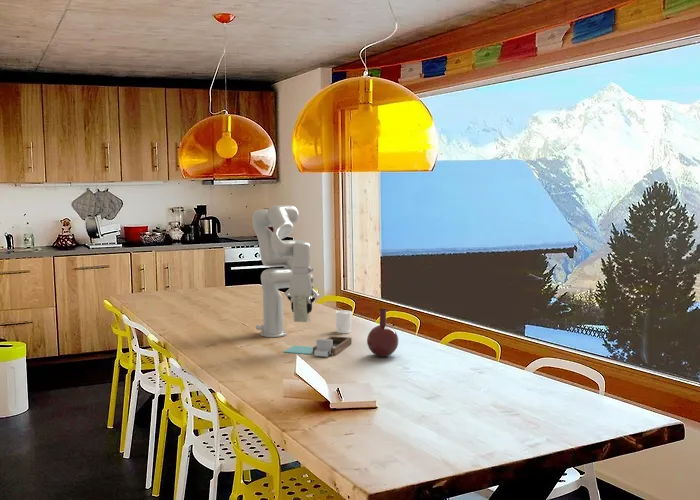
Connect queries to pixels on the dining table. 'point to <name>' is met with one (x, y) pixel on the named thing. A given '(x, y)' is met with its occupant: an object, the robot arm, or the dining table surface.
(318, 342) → the brushed steel block
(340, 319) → the white cup
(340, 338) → the brown rectangular frame
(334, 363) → the dining table surface
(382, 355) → the round-bottom flask
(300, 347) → the coaster
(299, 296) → the skincare box
